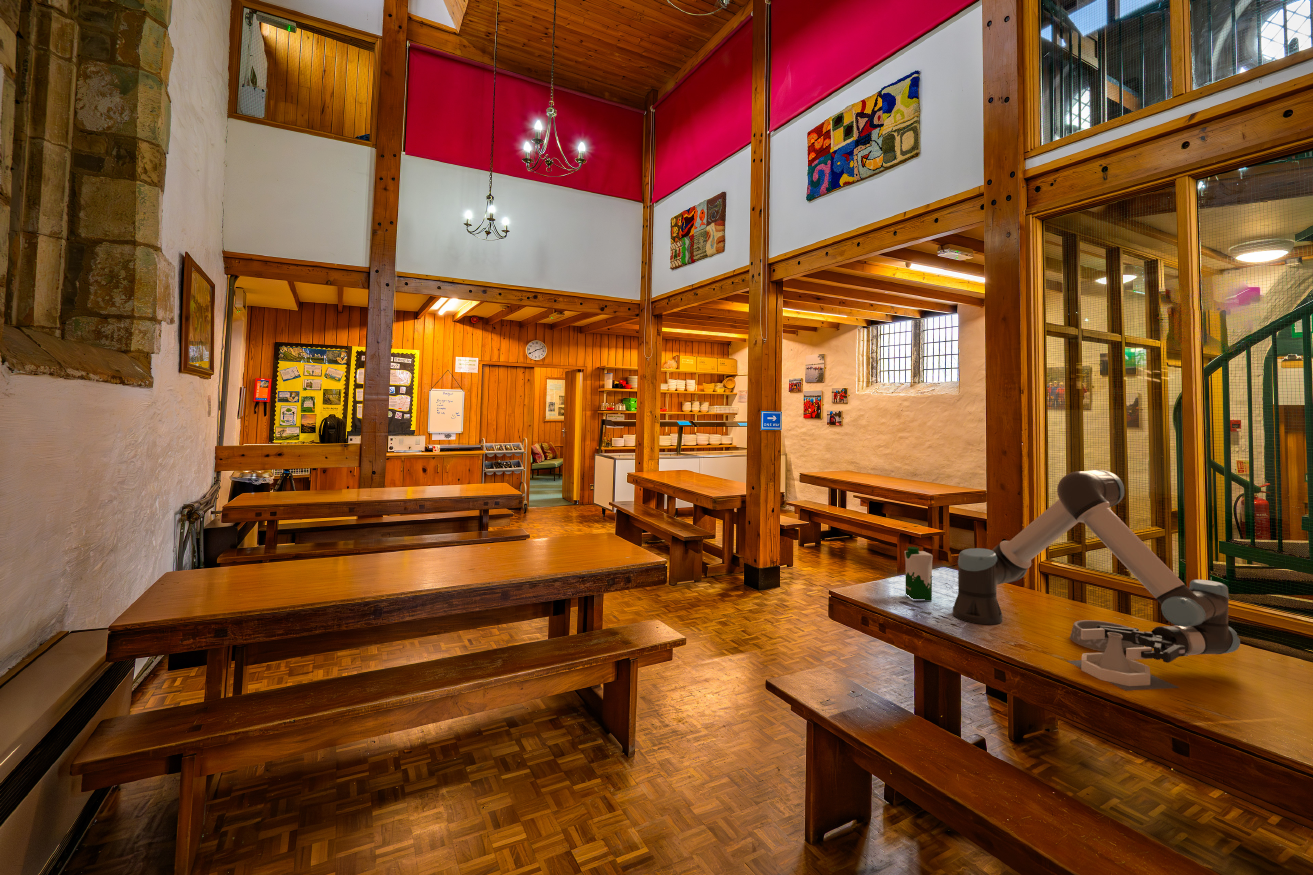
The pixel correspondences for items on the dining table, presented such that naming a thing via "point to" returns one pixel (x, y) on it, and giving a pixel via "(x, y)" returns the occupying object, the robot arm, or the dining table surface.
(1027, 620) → the dining table surface
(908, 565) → the milk carton
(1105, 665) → the flask
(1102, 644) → the dog bowl
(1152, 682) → the mat
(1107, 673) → the bowl
